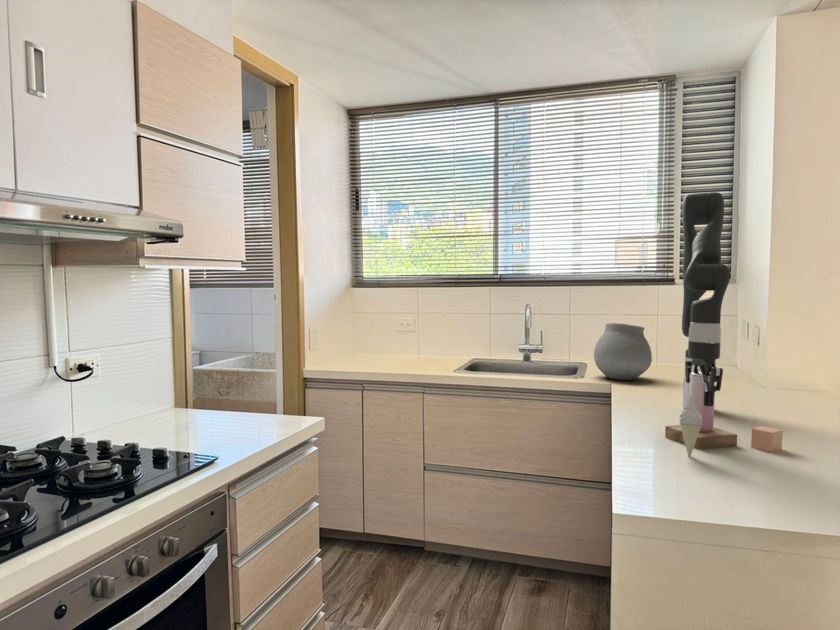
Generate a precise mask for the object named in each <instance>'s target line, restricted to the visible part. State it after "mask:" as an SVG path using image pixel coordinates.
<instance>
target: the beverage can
mask: <svg viewBox="0 0 840 630" xmlns="http://www.w3.org/2000/svg"><path fill="white" fill-rule="evenodd" d="M704 376H705V375H704ZM705 379H710V376H705ZM701 381H702V379H701V375H700V374H697V373H694V374H693V372H692V373H691V376H690V393H689V399H690V397H691V395H692V397H693V399H694V402H695V404H696V405H697V410H698V412H699V413H700V414H701V416H702V422H701V423H702V424H703V425H702V426H701V428H700V431H699V432H711V431H712V430H713V427H714V423H715V422H714V421H715V419H714V418H715V402H716V401H715V399H716V392H714V405H713V406H705V405H704V392H705V389H704V383H702V382H701ZM708 387H709V383H708Z"/></svg>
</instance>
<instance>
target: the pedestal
mask: <svg viewBox="0 0 840 630" xmlns="http://www.w3.org/2000/svg"><path fill="white" fill-rule="evenodd" d="M664 431H665V432H664V437H665V438H667V439H669V440H672V441H675V442H678V443H681V444H684V445H685V441H684V437H683V433H682V429H681V425H680V424H679V425H678V424H677V425H676V424H675V425H665V430H664ZM737 445H738V434H737V433H733V432H730V431H727V430H724V429H720V428H717V427H714V426H713V430H712V431H711V432H699V434H698V437H697V440H696V443H695V445H694V448H693V449H697V450H707V449H709V450H711V449H718V448H719V449H720V448H729V447H737Z"/></svg>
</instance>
